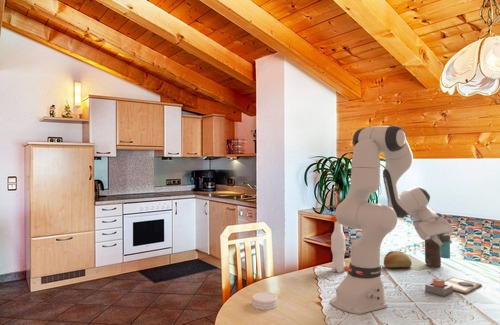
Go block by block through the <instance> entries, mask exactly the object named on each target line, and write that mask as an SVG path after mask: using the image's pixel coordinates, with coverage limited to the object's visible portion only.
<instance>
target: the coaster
mask: <svg viewBox="0 0 500 325" xmlns="http://www.w3.org/2000/svg"><path fill="white" fill-rule="evenodd" d="M251 305H252V307H253V308H254V309H257V310H259V311H260V310H261V311H269V310H273V309H275V308H277V307H278V296H277V294H275V293H273V292H269V291H261V292H256V293H254V294H253V295H252V297H251Z"/></svg>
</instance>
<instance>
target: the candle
mask: <svg viewBox="0 0 500 325" xmlns="http://www.w3.org/2000/svg"><path fill="white" fill-rule="evenodd" d="M438 239H439V237H438ZM424 262H425V264H426V265H427V266H429V267H431V268H437V267H438V268H439V267H440V266H441V265H442V258H441V257H440V246H439V245H438V243H436V242H435V241H433V240H432V239H426V240H424Z"/></svg>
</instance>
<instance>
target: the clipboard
mask: <svg viewBox="0 0 500 325" xmlns="http://www.w3.org/2000/svg"><path fill="white" fill-rule="evenodd" d="M444 281H445V284H448V285H452V289H453V292H456V293H458V292H459V294H462V295H467V293H468V294H469V292H470V293H471V292H473V291H475V290H477V289H478V287H479V288H480V286H481V287H482V286H483V285H482V283H479V282H473V281H471V280H466V279H462V278H458V277H454V276H452V277H450V278H447V279H445V280H444ZM476 288H477V289H476ZM474 289H475V290H474ZM472 290H473V291H472Z"/></svg>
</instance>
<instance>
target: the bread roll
mask: <svg viewBox="0 0 500 325" xmlns="http://www.w3.org/2000/svg"><path fill="white" fill-rule="evenodd" d="M412 262H413V261H412V259H411V258H410V256H409V255H408V254H407V253H405V252H402V251H397V250H393V251H389V252H387V253H386V254H385V256H384V259H383V265H384V267H385V268H388V269H389V268H410V267H411V266H412V264H413V263H412Z"/></svg>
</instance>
